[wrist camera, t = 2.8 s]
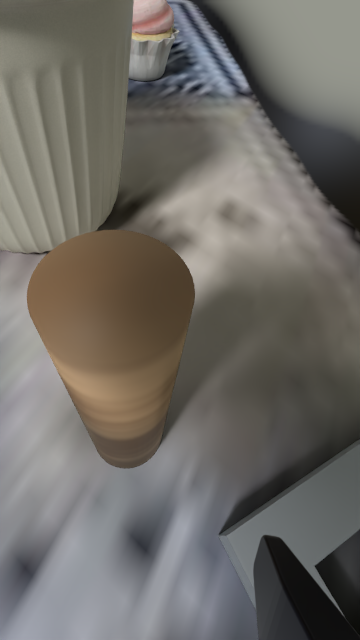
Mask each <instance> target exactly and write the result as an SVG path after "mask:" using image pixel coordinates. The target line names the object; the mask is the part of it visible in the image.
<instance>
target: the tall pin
mask: <svg viewBox="0 0 360 640" xmlns="http://www.w3.org/2000/svg"><path fill="white" fill-rule="evenodd" d="M194 299H195V289H194V283H193V279H192V276H191V273H190V271H189V269H188V267H187V266H186V264H185V262H184V261H183V260H182V259H181V257H180V256H179V255H178V254H177V253H176V252H175V251H174V250H172V249H171V248H170V247H168V246H167V245H166V244H164V243H162V242H160V241H159V240H157V239H154V238H152V237H150V236H147V235H144V234H141V233H137V232H132V231H125V230H101V231H94V232H90V233H85V234H82V235H79V236H76V237H74V238H71V239H69V240H67V241H65V242H63V243H62V244H60V245H58V246H57V247H55V248H54V249H53V250H51V251H50V252H49V253H48V254H47V255H46V256H45V257H44V258H43V259H42V260H41V262H40V263H39V264H38V265H37V267H36V269H35V270H34V272H33V274H32V276H31V279H30V282H29V286H28V291H27V304H28V310H29V313H30V316H31V319H32V321H33V323H34V325H35V327H36V329H37V331H38V333H39V335H40V337H41V339H42V341H43V343H44V345H45V347H46V349H47V351H48V353H49V355H50V357H51V359H52V361H53V363H54V365H55V367H56V369H57V371H58V373H59V375H60V377H61V379H62V381H63V383H64V385H65V387H66V389H67V391H68V393H69V395H70V397H71V399H72V401H73V403H74V405H75V407H76V409H77V411H78V413H79V415H80V417H81V419H82V421H83V423H84V425H85V427H86V429H87V431H88V433H89V435H90V437H91V439H92V441H93V443H94V445H95V447H96V449H97V451H98V453H99V454H100V456H101V457H102V458H103V459H104V460H105V461H106V462H107V463H109V464H111V465H113V466H115V467H119V468H134V467H137V466H140V465H142V464H144V463H145V462H147V461H148V460H149V459H150V458H151V457H152V456H153V455H154V454H155V452H156V451H157V449H158V447H159V445H160V442H161V437H162V433H163V429H164V425H165V421H166V417H167V413H168V409H169V404H170V400H171V396H172V392H173V388H174V384H175V380H176V376H177V371H178V367H179V363H180V359H181V355H182V351H183V347H184V342H185V338H186V334H187V330H188V326H189V322H190V318H191V314H192V309H193V305H194Z"/></svg>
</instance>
